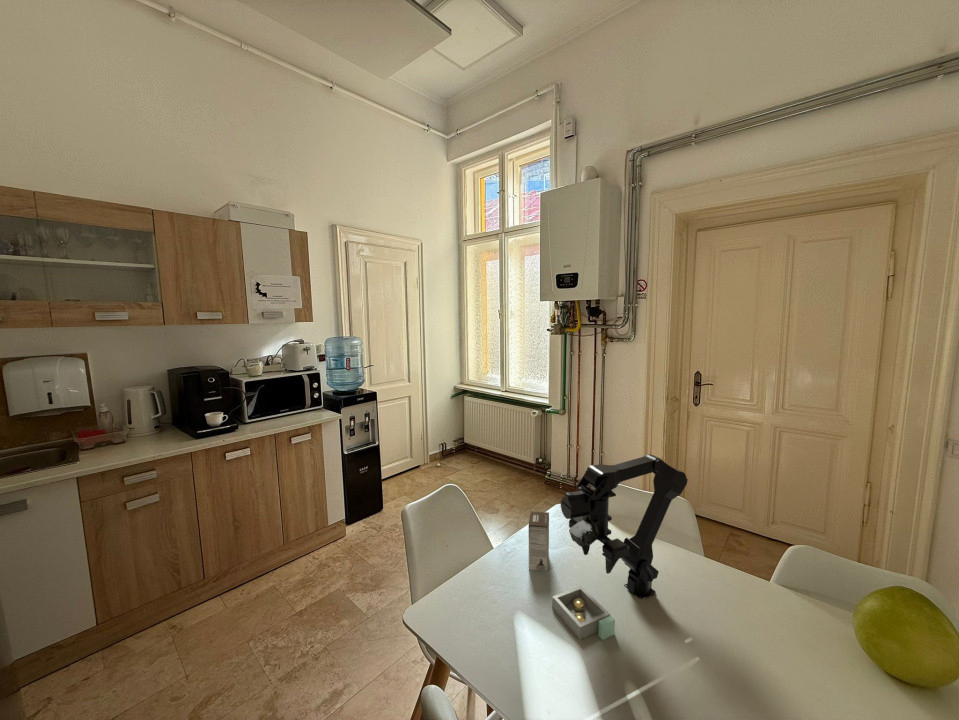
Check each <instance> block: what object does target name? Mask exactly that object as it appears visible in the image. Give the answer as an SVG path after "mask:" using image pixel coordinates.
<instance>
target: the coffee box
mask: <svg viewBox="0 0 959 720" xmlns="http://www.w3.org/2000/svg"><path fill="white" fill-rule="evenodd" d="M549 552H550V512H547V511H530V514H529V520H528V571H533V570H534V571H545V572H548V570H549V561H550V560H549V559H550V557H549V556H550V553H549Z"/></svg>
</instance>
